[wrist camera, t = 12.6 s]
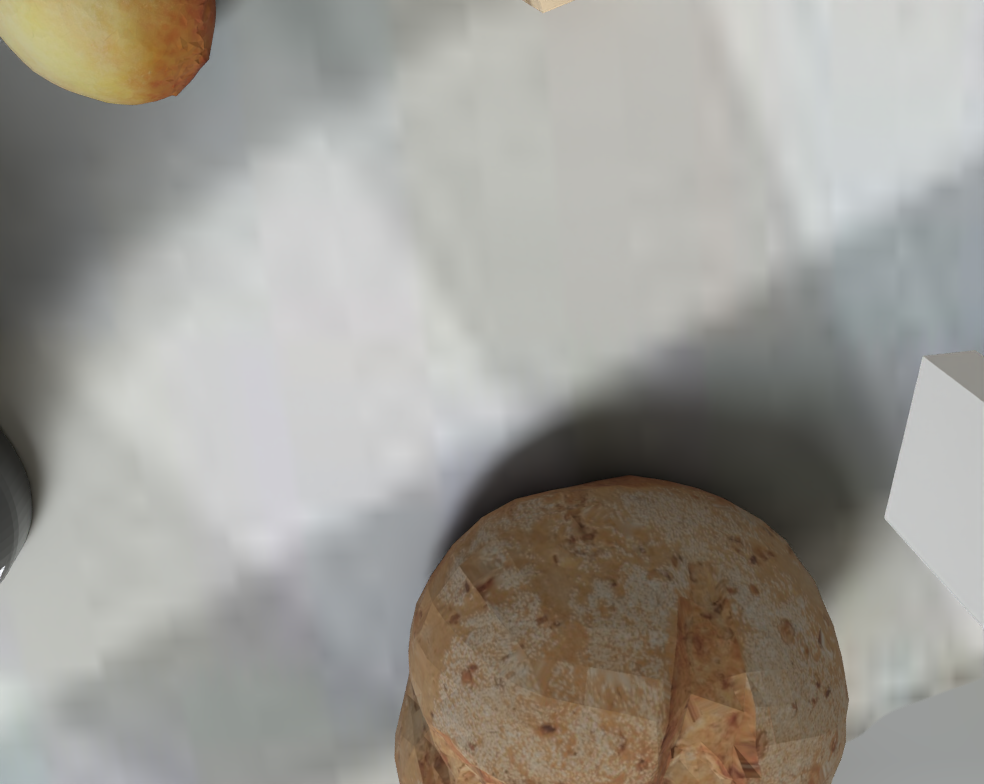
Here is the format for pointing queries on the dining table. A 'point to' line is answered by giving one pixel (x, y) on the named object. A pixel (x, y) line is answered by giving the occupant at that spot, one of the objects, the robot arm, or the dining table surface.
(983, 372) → the robot arm
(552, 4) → the beech block
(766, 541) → the bread
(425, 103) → the dining table surface
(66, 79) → the fruit
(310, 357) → the dining table surface
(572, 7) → the dining table surface
